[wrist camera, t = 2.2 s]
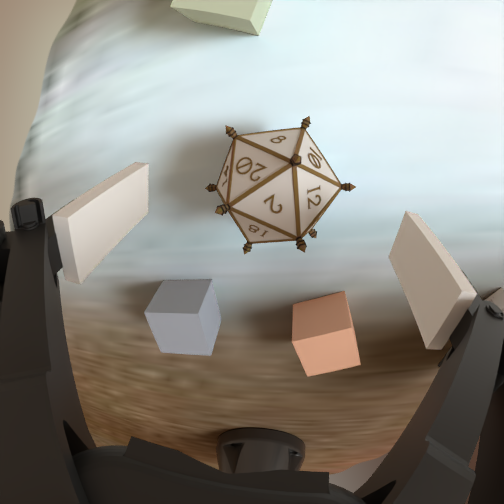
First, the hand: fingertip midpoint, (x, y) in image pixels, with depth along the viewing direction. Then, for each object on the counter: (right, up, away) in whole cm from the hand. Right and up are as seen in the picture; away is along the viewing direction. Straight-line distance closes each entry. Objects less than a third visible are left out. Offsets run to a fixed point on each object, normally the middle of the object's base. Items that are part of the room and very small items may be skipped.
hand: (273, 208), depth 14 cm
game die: (+1, +4, +8) cm, 9 cm away
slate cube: (-7, -7, +15) cm, 18 cm away
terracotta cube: (+6, -8, +14) cm, 17 cm away
